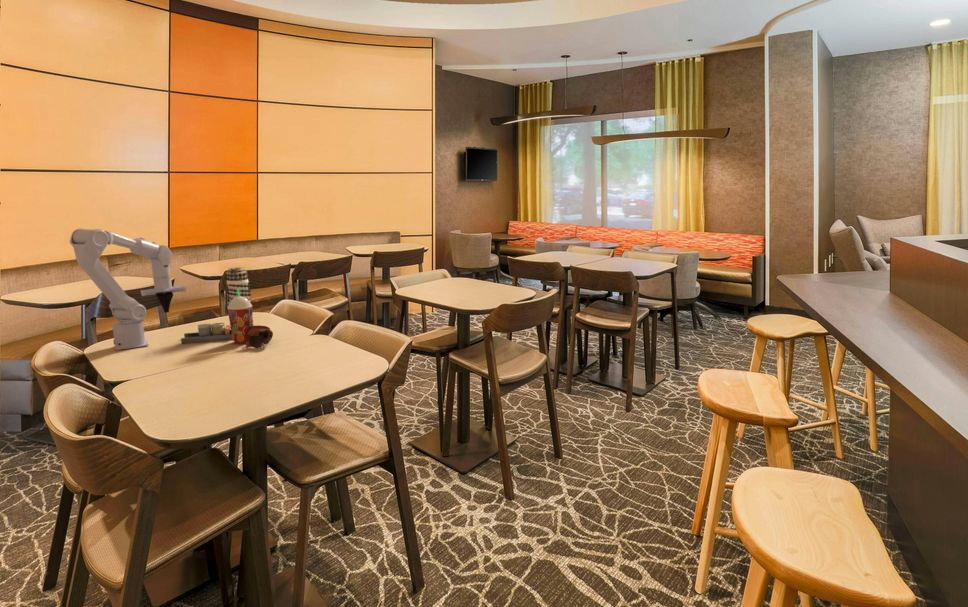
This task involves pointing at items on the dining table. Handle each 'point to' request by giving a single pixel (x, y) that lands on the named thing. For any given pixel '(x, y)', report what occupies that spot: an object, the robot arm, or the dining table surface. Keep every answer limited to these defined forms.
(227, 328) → the block
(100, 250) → the robot arm
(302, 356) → the dining table surface
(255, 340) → the pottery mug
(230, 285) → the black white checkered cylinder
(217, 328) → the jar
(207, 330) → the jar
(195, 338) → the lane
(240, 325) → the smoothie
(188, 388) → the dining table surface
